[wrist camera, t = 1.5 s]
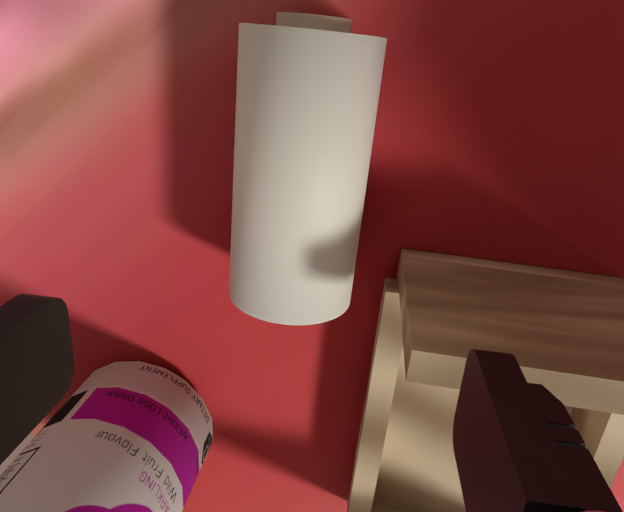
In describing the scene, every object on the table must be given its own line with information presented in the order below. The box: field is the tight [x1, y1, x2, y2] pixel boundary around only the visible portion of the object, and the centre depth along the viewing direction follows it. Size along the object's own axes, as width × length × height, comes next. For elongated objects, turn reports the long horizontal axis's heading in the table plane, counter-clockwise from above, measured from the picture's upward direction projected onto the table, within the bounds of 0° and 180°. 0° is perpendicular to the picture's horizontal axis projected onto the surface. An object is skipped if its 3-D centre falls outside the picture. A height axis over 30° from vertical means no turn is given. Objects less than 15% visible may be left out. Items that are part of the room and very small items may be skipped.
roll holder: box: [347, 248, 624, 512], centre depth 23 cm, size 17×11×9 cm
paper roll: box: [229, 12, 387, 325], centre depth 21 cm, size 12×6×6 cm, turn 174°
